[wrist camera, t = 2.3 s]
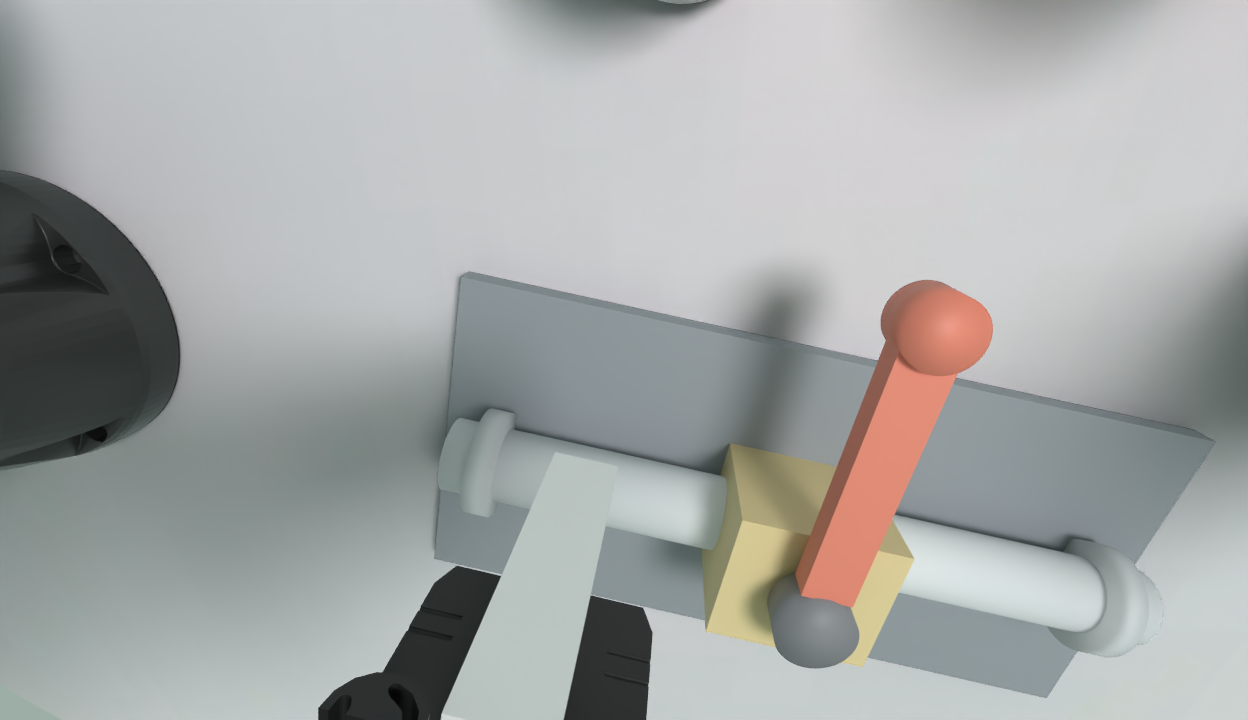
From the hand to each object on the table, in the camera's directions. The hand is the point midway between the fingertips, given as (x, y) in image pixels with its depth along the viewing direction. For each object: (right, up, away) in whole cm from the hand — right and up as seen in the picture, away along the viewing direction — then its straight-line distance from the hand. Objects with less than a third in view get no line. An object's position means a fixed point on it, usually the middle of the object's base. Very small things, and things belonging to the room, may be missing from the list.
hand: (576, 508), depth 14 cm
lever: (+10, -1, +8) cm, 13 cm away
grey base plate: (+9, -4, +17) cm, 20 cm away
